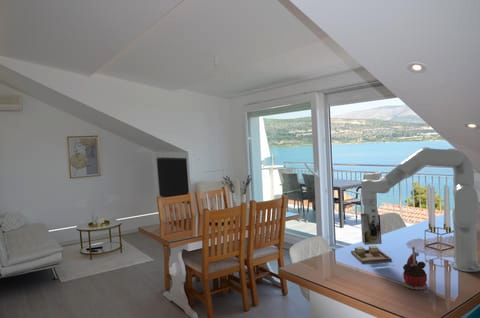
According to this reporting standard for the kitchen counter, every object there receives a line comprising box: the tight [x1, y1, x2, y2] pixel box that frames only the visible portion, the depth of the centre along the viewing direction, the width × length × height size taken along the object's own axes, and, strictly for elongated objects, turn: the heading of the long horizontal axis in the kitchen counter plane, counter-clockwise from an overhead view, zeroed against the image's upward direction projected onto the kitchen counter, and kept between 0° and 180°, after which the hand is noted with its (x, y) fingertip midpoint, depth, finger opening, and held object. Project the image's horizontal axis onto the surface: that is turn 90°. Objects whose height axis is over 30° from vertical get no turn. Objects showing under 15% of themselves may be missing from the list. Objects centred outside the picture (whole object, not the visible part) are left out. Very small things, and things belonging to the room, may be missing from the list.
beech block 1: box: [354, 245, 366, 256], centre depth 210 cm, size 4×4×4 cm
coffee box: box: [360, 213, 382, 246], centre depth 200 cm, size 9×6×16 cm
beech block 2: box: [368, 245, 379, 255], centre depth 210 cm, size 4×4×4 cm
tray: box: [350, 248, 393, 264], centre depth 204 cm, size 18×16×2 cm
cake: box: [402, 246, 428, 290], centre depth 164 cm, size 11×9×18 cm
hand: (371, 233), depth 200 cm, fingers closed on coffee box, 6 cm apart
